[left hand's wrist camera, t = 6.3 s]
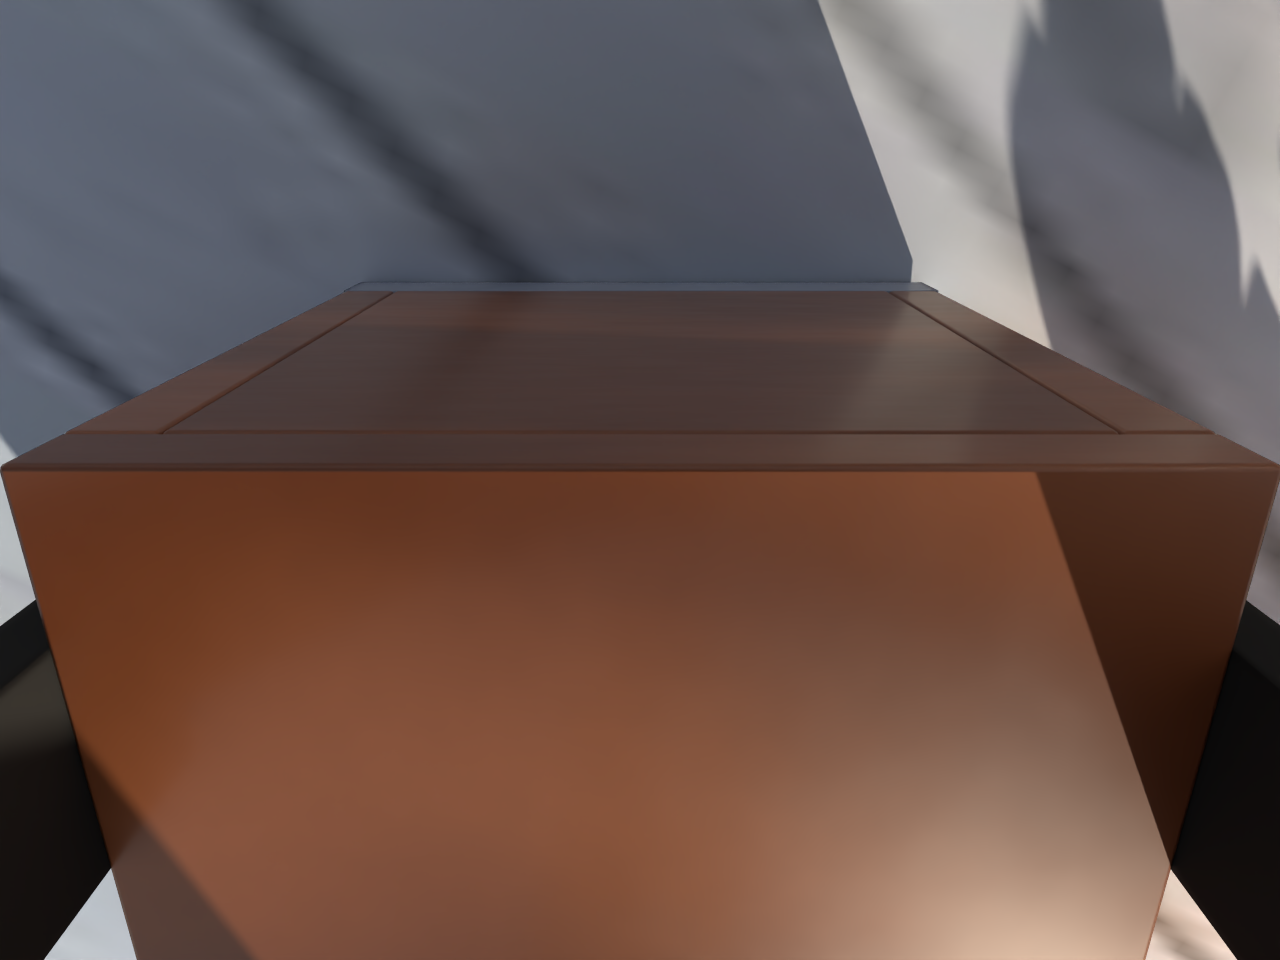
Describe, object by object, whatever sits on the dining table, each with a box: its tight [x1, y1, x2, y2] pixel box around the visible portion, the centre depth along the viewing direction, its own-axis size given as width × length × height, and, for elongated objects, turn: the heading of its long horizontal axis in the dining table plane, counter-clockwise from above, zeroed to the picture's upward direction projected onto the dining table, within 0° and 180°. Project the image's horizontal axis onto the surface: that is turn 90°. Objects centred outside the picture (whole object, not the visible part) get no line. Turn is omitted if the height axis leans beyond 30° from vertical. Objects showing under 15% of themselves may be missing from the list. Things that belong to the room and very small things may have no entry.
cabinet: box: [0, 282, 1280, 960], centre depth 16 cm, size 16×11×11 cm
